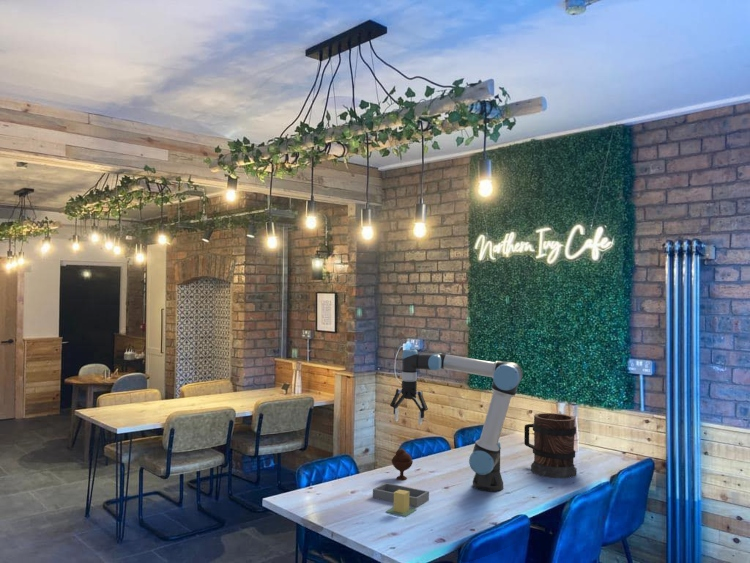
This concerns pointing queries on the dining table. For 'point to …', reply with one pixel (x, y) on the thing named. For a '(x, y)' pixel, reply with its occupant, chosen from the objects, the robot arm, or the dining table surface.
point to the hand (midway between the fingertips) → (408, 422)
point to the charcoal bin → (388, 489)
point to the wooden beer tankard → (552, 445)
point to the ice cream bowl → (402, 462)
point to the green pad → (400, 512)
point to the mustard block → (401, 501)
